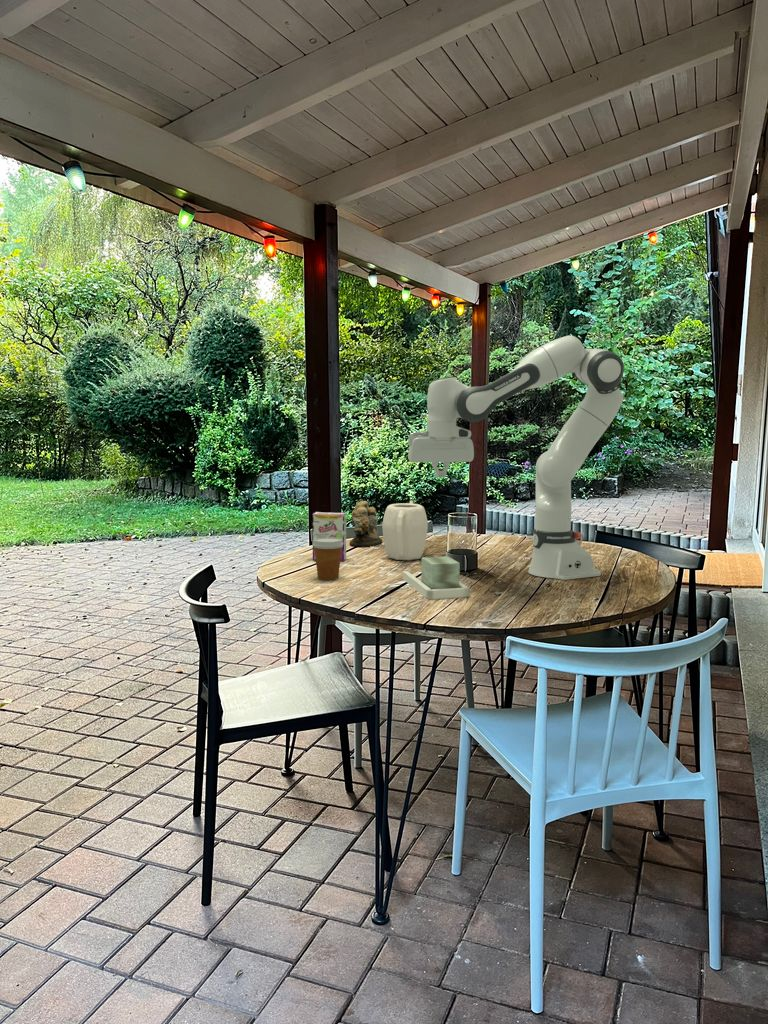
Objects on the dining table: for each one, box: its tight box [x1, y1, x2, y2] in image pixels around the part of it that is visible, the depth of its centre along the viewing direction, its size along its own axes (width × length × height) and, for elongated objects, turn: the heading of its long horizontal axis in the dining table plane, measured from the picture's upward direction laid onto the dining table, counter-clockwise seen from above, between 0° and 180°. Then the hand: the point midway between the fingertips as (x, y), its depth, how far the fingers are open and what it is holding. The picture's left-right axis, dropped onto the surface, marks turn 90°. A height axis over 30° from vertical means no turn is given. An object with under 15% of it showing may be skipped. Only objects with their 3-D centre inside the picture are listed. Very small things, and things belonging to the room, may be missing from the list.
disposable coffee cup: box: [312, 537, 343, 581], centre depth 221 cm, size 10×10×12 cm
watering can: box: [381, 500, 429, 561], centre depth 253 cm, size 16×27×19 cm, turn 169°
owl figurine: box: [349, 500, 383, 548], centre depth 279 cm, size 18×12×17 cm, turn 162°
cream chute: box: [402, 570, 471, 600], centre depth 209 cm, size 12×26×2 cm, turn 14°
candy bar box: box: [312, 511, 347, 562], centre depth 248 cm, size 11×5×16 cm, turn 84°
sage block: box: [420, 555, 461, 589], centre depth 204 cm, size 8×10×9 cm
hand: (440, 477), depth 220 cm, fingers closed
